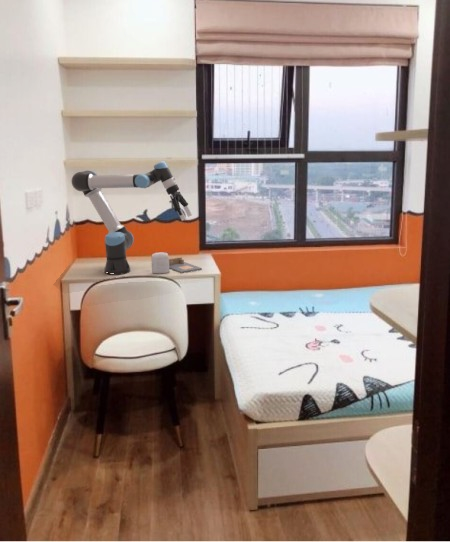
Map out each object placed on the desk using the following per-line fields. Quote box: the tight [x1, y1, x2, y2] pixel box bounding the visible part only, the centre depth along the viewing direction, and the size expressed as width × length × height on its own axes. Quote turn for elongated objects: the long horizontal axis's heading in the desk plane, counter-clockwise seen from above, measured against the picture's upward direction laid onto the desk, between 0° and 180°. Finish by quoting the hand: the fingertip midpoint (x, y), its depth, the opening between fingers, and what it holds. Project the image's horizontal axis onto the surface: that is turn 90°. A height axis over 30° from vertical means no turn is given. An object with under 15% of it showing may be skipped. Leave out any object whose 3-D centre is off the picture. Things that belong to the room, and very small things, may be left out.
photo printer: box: [151, 252, 170, 274], centre depth 310 cm, size 10×4×12 cm, turn 98°
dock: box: [169, 256, 203, 274], centre depth 321 cm, size 14×22×4 cm, turn 32°
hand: (187, 218), depth 318 cm, fingers open, 13 cm apart
